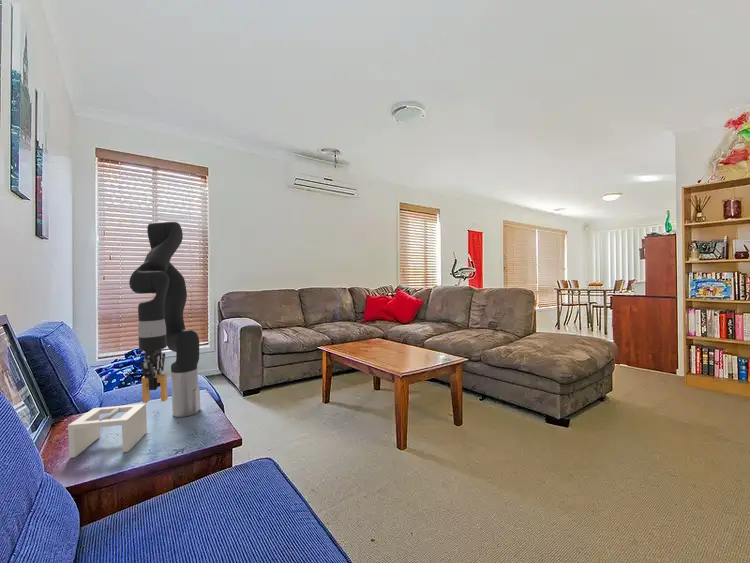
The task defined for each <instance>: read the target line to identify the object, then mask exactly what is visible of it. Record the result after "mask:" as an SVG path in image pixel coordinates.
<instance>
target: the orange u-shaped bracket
mask: <svg viewBox="0 0 750 563" xmlns="http://www.w3.org/2000/svg"><path fill="white" fill-rule="evenodd" d="M167 375H168V374H167V373H161V374H160V375H157V383H160V387H159V388H160V402H166V401H168V399H169V394H168V391H169V390H168V376H167ZM150 391H151V390H149V381H148V379H147V378H145V377H144V375H143V376H142V377H141V394H142V396H141V397H142V404H147V403H148V402H150V400H151V395H150V394H151V393H150Z"/></svg>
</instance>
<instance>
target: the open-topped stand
mask: <svg viewBox="0 0 750 563" xmlns="http://www.w3.org/2000/svg"><path fill="white" fill-rule="evenodd" d="M124 412H125V413H124ZM118 413H124V414H123V415H121V416H120V417H118V418H114V416H116V415H117V414H118ZM103 414H104V415H105V414H106V415H105V416H104V417H102V418H100V415H103ZM115 426H121V436H122V437H121V438H122V452H123V453H128V452H130V451H131V450H132V448H133V447H134V446H135V445H136V444H137V443H138V442H139V441H140V440H141V439H142V438H143V437H145V436H144V435H146V433H148V423H147V403H139V404H137V403H136V404H128V405H115V406H104V407H93V408H91V410H89V411H88V412H86V413H84V414H83V415H81V416H80V417H78V418H77V419H75V420H74V421H72V422H71V423H69V424H68V425H67V433H68V449H69V450H68V452H69V453H68V454H69V457H68V458H69V459H71V458H76V457H77V456H78V455H80V454H81V453H82V452H83V451H85V450H86V449H87V448H89V447H90V446H91V445H92V444H93V443H95V441H97V440H98V439H99V438H101V428H105V427H107V428H108V427H115Z"/></svg>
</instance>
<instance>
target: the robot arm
mask: <svg viewBox="0 0 750 563" xmlns="http://www.w3.org/2000/svg"><path fill="white" fill-rule="evenodd" d="M146 230H147V236H148V237H147V238H148V242H149V246H150V250H149V252H147V255H146V256H145V259H144V260H143V263H142V264H141V265H140V266H138V267H137V268H136V269H135V270H134V271H133V272H132V273H131V275H130V277H129V281H128V282H129V288H130V289H131V291H132V292H133V293H135V294H140V295H141V294H142V295H143V294H144V295H145V294H155V296H154V297H153V298H152V299H148V300H145V301H141V302H139V303H138V305H137V313H138V314H137V316H138V325H137V331H138V332H137V335H138V336H137V337H138V349H139V351H140V352H145V353H144V359H143V360H144V362H140V366H141V369H142V370H141V371H142V374H143V376H144V377H145V378H147V379H148V381H149V390H150V391H156V390H158V388H160V383H157V375H160V374H163V373H162V372H163V371H164V368H165V360H166V353H165V352H162V350H163V349H166V348H168V349H169V350H170V351H172V352H174V353H176V356H175V357H176V358H175V361H174V362H172V363H171V365H170V371H171V372H170V376H171V377H170V378H171V380H170V382H171V401H172V402H171V404H172V411H171V412H172V416H173V417H175V418H176V417H177V418H182V417H183V418H184V417H190V416H193V415H197V414H198V413H199V411H200V410H201V389H200V385H199V382H198V381H199V380H198V378H199V377H198V364H199V360H200V339H199V338H200V337H199V334H198V333H197V332H196V331H195V330H192V329H186V326H185V322H184V320H185V319H184V310H185V307H186V304H187V303H186V302H187V299H188V298H187V297H188V291H187V286H186V280H185V278H184V276H183V275H182V273H181V272H180V271H179V270H178V268H177V267H175V265H173V264H172V263H171V259H172V257H173V255H174V254H175V253H176V251H177V250H178V248H179V247H180V246H181V244H182V241H183V234H184V233H183V229H182V226H181V224H180V222H177V221H169V220H167V221H155V222H150V223H148V224H147V227H146Z"/></svg>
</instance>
